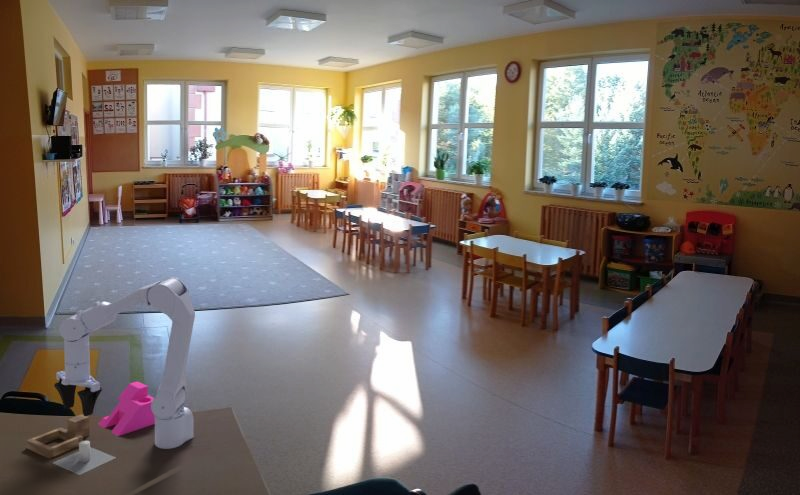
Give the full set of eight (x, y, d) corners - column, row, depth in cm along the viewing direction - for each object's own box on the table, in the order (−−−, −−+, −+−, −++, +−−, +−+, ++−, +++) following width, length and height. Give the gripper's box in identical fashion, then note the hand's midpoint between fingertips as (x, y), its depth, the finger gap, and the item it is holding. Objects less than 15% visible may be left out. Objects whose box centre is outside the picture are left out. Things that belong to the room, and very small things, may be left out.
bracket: (137, 415, 182) (137, 381, 180) (158, 426, 176) (158, 391, 174) (96, 428, 173) (96, 392, 171) (116, 440, 167) (116, 403, 165)
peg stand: (89, 450, 160) (89, 430, 159) (116, 461, 156) (116, 440, 155) (52, 466, 151) (51, 445, 151) (79, 479, 147) (79, 456, 146)
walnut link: (74, 430, 169) (74, 411, 168) (97, 439, 165) (96, 419, 164) (26, 449, 157) (26, 429, 157) (49, 459, 153) (48, 438, 152)
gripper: (44, 359, 162) (46, 409, 164) (81, 371, 155) (82, 423, 157) (70, 352, 168) (71, 400, 170) (106, 363, 161) (107, 414, 163)
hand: (78, 411), depth 164 cm, fingers open, 7 cm apart
